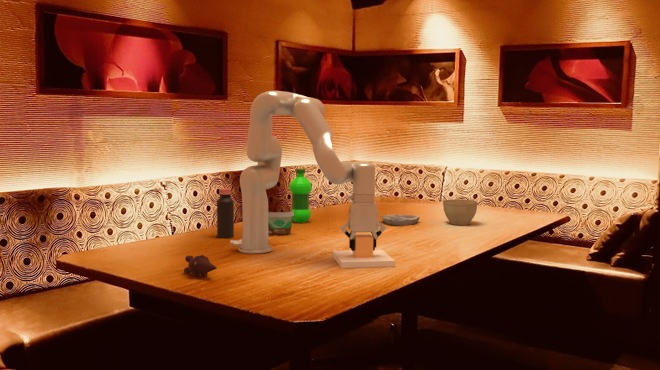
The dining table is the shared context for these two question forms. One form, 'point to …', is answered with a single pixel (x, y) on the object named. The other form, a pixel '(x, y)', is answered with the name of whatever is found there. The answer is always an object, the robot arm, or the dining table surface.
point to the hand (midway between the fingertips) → (362, 249)
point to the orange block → (363, 246)
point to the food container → (280, 223)
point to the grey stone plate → (400, 219)
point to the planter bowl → (460, 211)
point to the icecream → (198, 265)
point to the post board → (363, 259)
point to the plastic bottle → (300, 197)
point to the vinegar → (225, 214)
